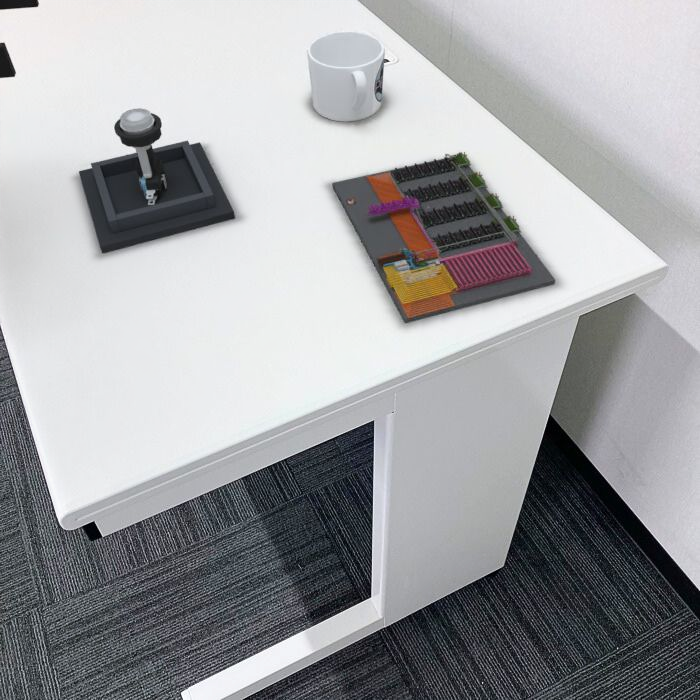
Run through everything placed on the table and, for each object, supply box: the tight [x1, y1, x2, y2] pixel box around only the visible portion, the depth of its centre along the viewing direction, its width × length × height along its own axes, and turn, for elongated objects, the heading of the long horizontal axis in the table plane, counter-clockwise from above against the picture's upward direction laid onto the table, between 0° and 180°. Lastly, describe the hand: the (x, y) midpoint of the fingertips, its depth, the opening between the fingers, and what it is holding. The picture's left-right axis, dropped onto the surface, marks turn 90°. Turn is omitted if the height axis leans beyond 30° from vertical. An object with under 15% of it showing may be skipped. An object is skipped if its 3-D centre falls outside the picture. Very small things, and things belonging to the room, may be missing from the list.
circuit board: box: [331, 151, 556, 324], centre depth 86 cm, size 25×18×3 cm
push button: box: [113, 107, 167, 205], centre depth 88 cm, size 7×5×10 cm
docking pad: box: [78, 140, 236, 254], centre depth 91 cm, size 16×16×3 cm
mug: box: [306, 30, 386, 122], centre depth 102 cm, size 13×10×8 cm
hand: (23, 23), depth 67 cm, fingers open, 13 cm apart
